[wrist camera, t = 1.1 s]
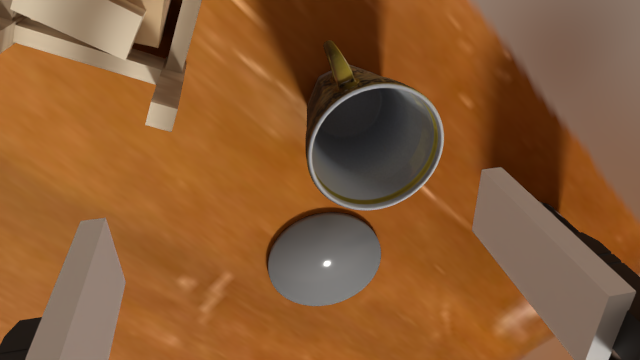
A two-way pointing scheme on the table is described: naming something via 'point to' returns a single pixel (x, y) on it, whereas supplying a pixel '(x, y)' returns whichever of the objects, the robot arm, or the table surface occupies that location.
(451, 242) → the table surface
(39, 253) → the table surface
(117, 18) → the offcut stack
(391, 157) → the ceramic cup
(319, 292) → the grey round disc
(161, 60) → the rack
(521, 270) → the robot arm
